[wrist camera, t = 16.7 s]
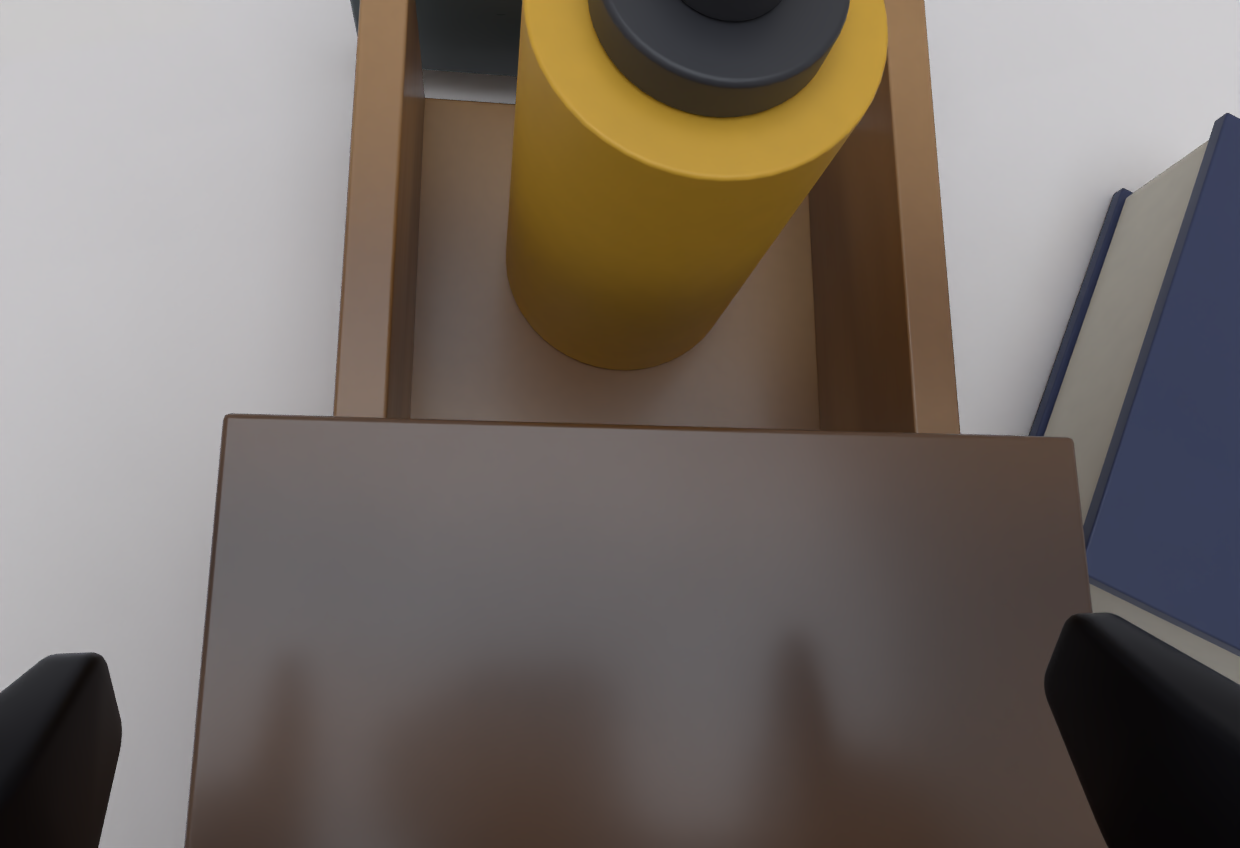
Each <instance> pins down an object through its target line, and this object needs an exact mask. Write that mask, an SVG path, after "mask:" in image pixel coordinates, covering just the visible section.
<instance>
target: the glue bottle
mask: <svg viewBox="0 0 1240 848" xmlns="http://www.w3.org/2000/svg"><path fill="white" fill-rule="evenodd" d="M887 46H888V27H887V14H886V9H885V4H884V0H522V13H521V28H520V44H519V59H518V75H517V90H516V105H515V121H514V136H513V151H512V167H511V182H510V197H509V213H508V228H507V244H506V268H507V276H508V280H509V285H510V288H511V291H512V294H513V296H514V299H515V301H516V303H517V305H518V307H519V309H520V311H521V312H522V314H523V316H524V317H525V318H526V320H527V321H528V323H529V324H530V325H531V327H532V328H533V329H534V330H535V331H536V332H537V333H538V334H539V335H540V336H541V337H542V338H543V339H544V340H545V341H547V342H548V343H549V344H550V345H552V346H553V347H554V348H556V349H557V350H559V351H560V352H562V353H564V354H565V355H567V356H569V357H571V358H573V359H576V360H578V361H580V362H583V363H586V364H589V365H592V366H595V367H600V368H606V369H613V370H636V369H644V368H649V367H654V366H657V365H660V364H663V363H666V362H669V361H671V360H673V359H675V358H677V357H679V356H681V355H683V354H684V353H686V352H687V351H688V350H690V349H691V348H693V347H694V346H695V345H696V344H697V343H699V342H700V341H701V340H702V339H703V338H704V337H705V336H706V334H707V333H708V332H709V331H710V330H711V328H712V327H713V326H714V325H715V323H716V322H717V320H718V319H719V318H720V316H721V315H722V313H723V312H724V311H725V309H726V308H727V306H728V305H729V304H730V302H731V301H732V299H733V298H734V297H735V295H736V294H737V292H738V291H739V290H740V288H741V287H742V285H743V284H744V283H745V281H746V280H747V278H748V277H749V276H750V274H751V273H752V271H753V270H754V269H755V267H756V266H757V264H758V263H759V262H760V260H761V259H762V257H763V256H764V255H765V253H766V252H767V250H768V249H769V248H770V246H771V245H772V243H773V242H774V241H775V239H776V238H777V236H778V235H779V234H780V232H781V231H782V229H783V228H784V227H785V225H786V224H787V222H788V221H789V220H790V218H791V217H792V215H793V214H794V213H795V211H796V210H797V209H798V207H799V206H800V204H801V203H802V202H803V200H804V199H805V197H806V196H807V195H808V193H809V192H810V190H811V189H812V188H813V186H814V185H815V183H816V182H817V181H818V179H819V178H820V176H821V175H822V174H823V172H824V171H825V169H826V168H827V167H828V165H829V164H830V162H831V161H832V160H833V158H834V157H835V155H836V154H837V153H838V151H839V150H840V148H841V147H842V146H843V144H844V143H845V141H846V140H847V139H848V137H849V136H850V134H851V133H852V132H853V130H854V129H855V127H856V126H857V125H858V123H859V122H860V120H861V119H862V118H863V116H864V114H865V113H866V111H867V109H868V108H869V106H870V104H871V103H872V101H873V99H874V97H875V94H876V92H877V90H878V87H879V85H880V82H881V79H882V75H883V71H884V67H885V63H886V56H887Z"/></svg>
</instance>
